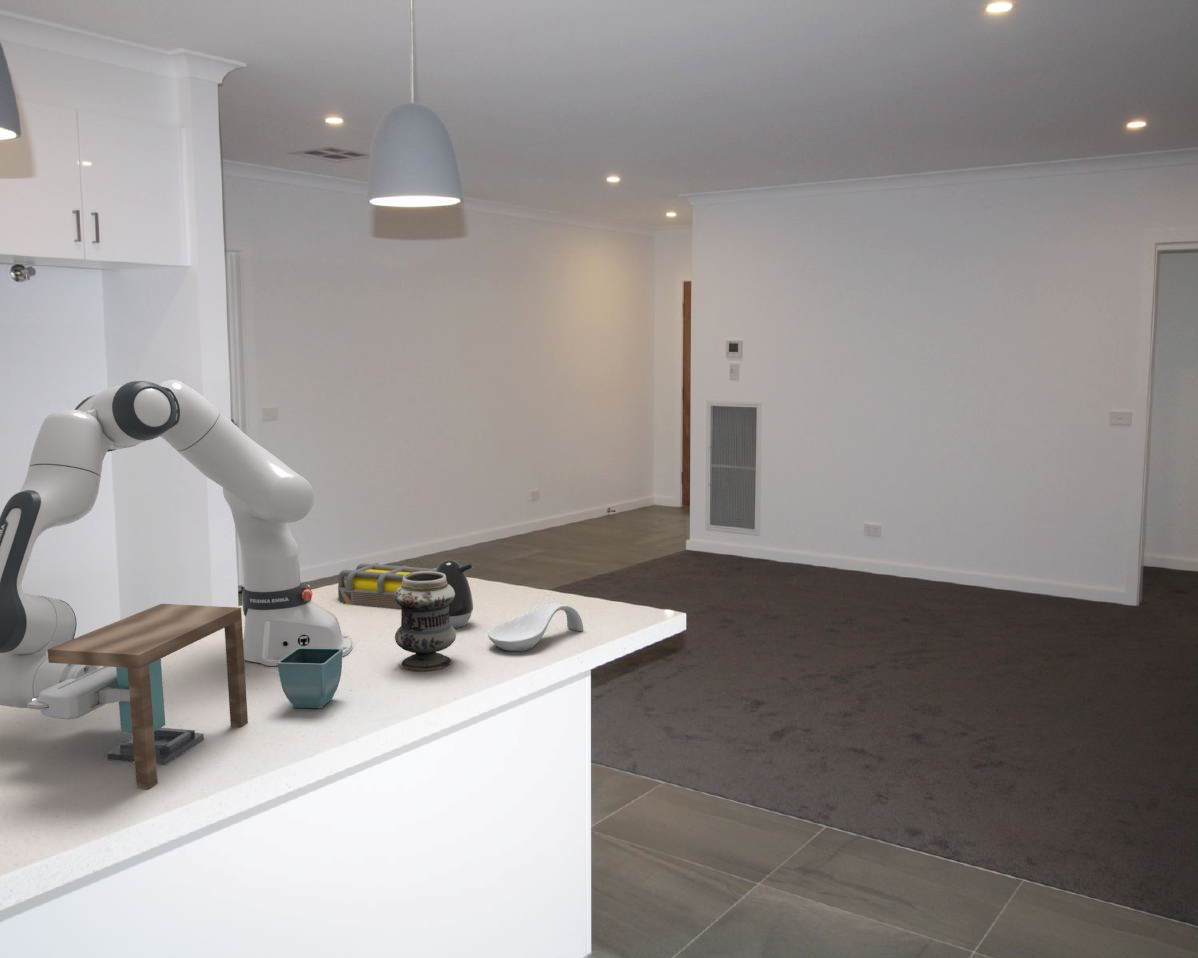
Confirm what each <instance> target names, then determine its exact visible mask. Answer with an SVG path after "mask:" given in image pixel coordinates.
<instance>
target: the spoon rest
mask: <svg viewBox="0 0 1198 958" xmlns="http://www.w3.org/2000/svg"><path fill="white" fill-rule="evenodd" d="M558 611H563V612H565V614H566V627H567V628H568V629H570V630H573V631H577V632H583V631H584V623H583V619H582V617H581V615H580V614H579V612H578V610H576V608H574V607H572V606H569V605H565V604H562V603H558V602H551V603H550V602H549V603H548V604H544V605H542V606H540V607H537V608H535V609H534V610H532V611H529V612H526V613H525V614H523V615H520V616H517V617H515V618H513V619H511V620H507V621H505V622H503V623H501V624H498V625H495V626H494V627H491V629H489V631H488V632H487V637H488V639H489V640H490V641H491V643H493V644H494V645H495V646H496V647H498V648H499V649H502V650H506V651H509V652H522V651H527V650H530V649H532V648H534V646H535V645H537V644H538V643H539V641H540V640H541V639H542V638H543V636H544V634H545V632H546V631H547V629H548V626H549V624H550V622H551V620H552V618H553V617H554V615H555V614H556V613H557V612H558Z"/></svg>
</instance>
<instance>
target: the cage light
mask: <svg viewBox="0 0 1198 958" xmlns="http://www.w3.org/2000/svg"><path fill="white" fill-rule="evenodd" d="M436 569H437V567H434V568H424V567H414V566H412V567H411V566H409V565H402V566H401V565H389V564H388V565H385V564H380V563H378V562H377V563H376V562H374V563H360V564H358V565H357V566H356V569H355V570H354V569H353V570H351V569H343V570H341V571H340V572H339V573H338V576H337V583H338V585H337V592H338V593H337V594H338V595H337V597H338V601H339V603H342V604H346V605H352V606H362V607H371V608H372V607H373V608H381V609H383V608H384V609H392V610H393V609H394V610H401V606H400V605H399V604H397V602H396V601H395V597H394V596H395V592H396V591H397V589H398V588H399V587H400V586H401V585H402V581H403V576H404V575H406V574H409V573H413V572H419V571H434V572H435V571H436ZM345 576H346V577H347V578H346V581H345Z"/></svg>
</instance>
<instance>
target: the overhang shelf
mask: <svg viewBox="0 0 1198 958" xmlns="http://www.w3.org/2000/svg"><path fill="white" fill-rule="evenodd" d="M242 618H243V617H242V607H237V606H236V607H234V606H216V605H215V606H214V605H212V606H211V605H198V604H197V605H193V604H178V603H177V604H175V603H174V604H173V603H159V604H156V605H154V606H153V607H149V608H147V609H145V610H142V611H140V612H137V613H135V614H132V615H130V616H127V617H124V618H122V619H120V620H117V621H115V622H112V623H109V624H107V625H105V626H103V627H100V628H98V629H94V630H91V631H90V632H87V633H85V634H82V635H80V636H77V637H74V639H72V640H70V641H67V642H65V643H62V644H60V645H57V646H55V647H52V648H50V649H48V661H49V663H61V664H76V665H91V666H106V667H121V668H128V681H129V694H130V707H131V721H132V733H131V734H132V739H133V747H134V760H135V762H134V771H135V783H136V784H135V785H136V789H142V790H150V789H152V788H153V787H154V786H156V785H158V770H157V769H158V768H157V767H158V766H157V764H156V754H155V740H154V726H153V712H152V699H151V685H150V671H149V664H151V663H153V662H155V661H157V660H159V659H161V660H162V659H163V658H165V657H167V656H169V655H171V654H173V653H176V652H177V651H179V650H181V649H183V648H186V647H188V646H189V645H191V644H194V643H195V642H196V643H197V642H198V641H200V640H202V639H204V638H207V637H208V636H210V635H212V634H214V633H216V632H219V631H221V630H223V629H224V638H225V639H224V642H225V655H226V657H225V658H226V659H225V660H226V673H227V689H228V690H227V691H228V706H229V707H228V708H229V721H230V727H234V728H235V727H237V728H242V727H244V726H245V725H247V724H249V720H248V719H249V717H248V703H247V688H246V687H247V684H246V682H247V681H246V668H245V667H246V665H245V660H244V648H243V637H244V631H243V619H242Z"/></svg>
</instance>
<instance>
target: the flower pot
mask: <svg viewBox="0 0 1198 958" xmlns="http://www.w3.org/2000/svg"><path fill="white" fill-rule="evenodd" d="M342 654H343V649H335V648H334V649H333V648H297V649H295V650H294V651H292V652H291V653H290V654H288V655H287V656H286V657H284V658H283V659H281V660H280V661H278V662H277V665H276V666H277V670H278V675H279V680H280V681H279V682H280V685H281V689H282V691H283V693H284V695H285V698H286V699H287V700H288V701H289V703H290V704H291V705H292V706H293V707H294V708H297V709H299V708H300V709H322V708H323V707H324V706H326V705H327V704H328V703H329V702H330V701H331V700H332V699H333V698H334V696H335V693H336V692H337V689H338V687H339V685H340V681H341V677H342V667H343V656H342Z"/></svg>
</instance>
